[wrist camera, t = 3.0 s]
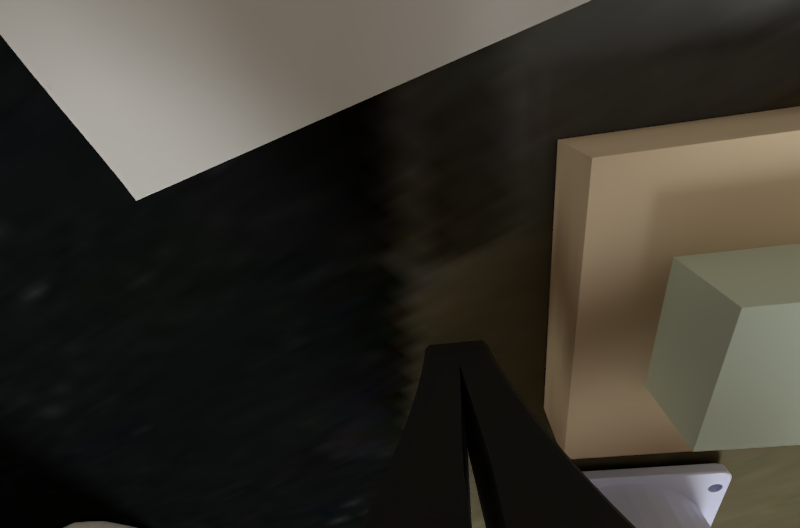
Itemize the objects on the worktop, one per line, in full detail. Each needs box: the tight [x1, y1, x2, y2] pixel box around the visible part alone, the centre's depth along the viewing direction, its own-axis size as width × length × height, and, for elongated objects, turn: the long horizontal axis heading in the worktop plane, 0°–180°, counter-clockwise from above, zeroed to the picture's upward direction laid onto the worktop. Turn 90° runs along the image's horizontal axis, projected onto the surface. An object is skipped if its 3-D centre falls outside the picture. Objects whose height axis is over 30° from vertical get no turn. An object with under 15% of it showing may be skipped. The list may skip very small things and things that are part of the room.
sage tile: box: [645, 243, 800, 452], centre depth 8 cm, size 4×4×2 cm
